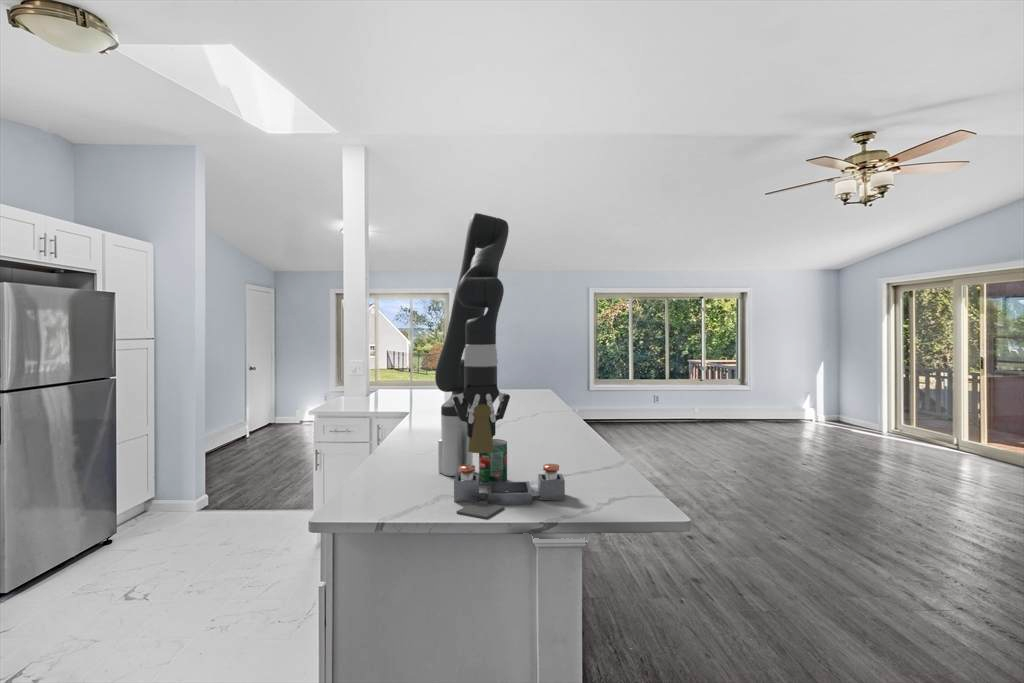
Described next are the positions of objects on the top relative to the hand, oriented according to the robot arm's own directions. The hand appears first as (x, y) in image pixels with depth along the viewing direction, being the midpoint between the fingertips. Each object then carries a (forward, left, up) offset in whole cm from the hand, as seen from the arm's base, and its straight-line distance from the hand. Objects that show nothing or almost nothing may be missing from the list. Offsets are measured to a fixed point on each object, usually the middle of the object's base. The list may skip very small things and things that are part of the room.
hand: (481, 438), depth 124 cm
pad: (0, 0, -17) cm, 17 cm away
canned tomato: (-10, +23, -17) cm, 30 cm away
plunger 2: (+10, +17, -16) cm, 25 cm away
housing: (+1, +12, -17) cm, 21 cm away
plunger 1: (-8, +7, -16) cm, 19 cm away
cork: (0, 0, -3) cm, 3 cm away
